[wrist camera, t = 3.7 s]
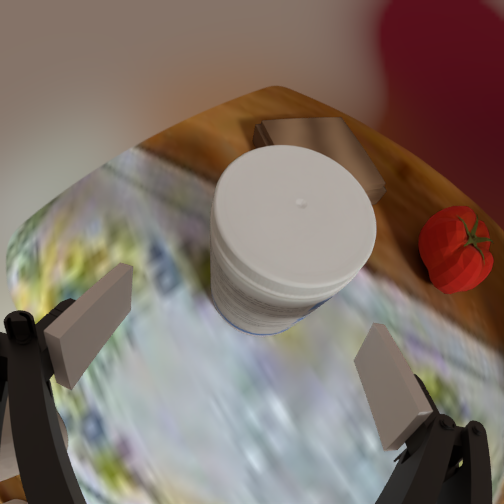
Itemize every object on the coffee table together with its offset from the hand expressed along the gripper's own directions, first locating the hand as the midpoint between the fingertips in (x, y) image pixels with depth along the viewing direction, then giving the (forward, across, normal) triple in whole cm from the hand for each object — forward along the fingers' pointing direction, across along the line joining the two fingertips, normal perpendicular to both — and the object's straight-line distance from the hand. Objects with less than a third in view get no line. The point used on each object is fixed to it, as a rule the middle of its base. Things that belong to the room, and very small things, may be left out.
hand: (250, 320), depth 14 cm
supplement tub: (+13, +1, -5) cm, 14 cm away
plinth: (+25, +5, +8) cm, 27 cm away
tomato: (+19, +24, +1) cm, 31 cm away
